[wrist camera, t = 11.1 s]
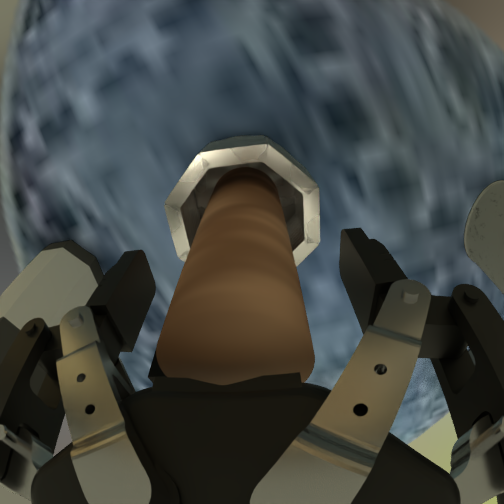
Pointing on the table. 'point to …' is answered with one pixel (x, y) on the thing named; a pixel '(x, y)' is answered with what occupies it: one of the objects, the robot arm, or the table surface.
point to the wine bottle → (47, 293)
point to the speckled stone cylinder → (487, 233)
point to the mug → (255, 156)
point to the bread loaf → (238, 291)
